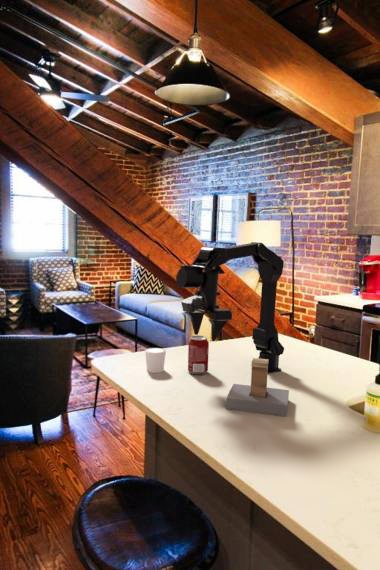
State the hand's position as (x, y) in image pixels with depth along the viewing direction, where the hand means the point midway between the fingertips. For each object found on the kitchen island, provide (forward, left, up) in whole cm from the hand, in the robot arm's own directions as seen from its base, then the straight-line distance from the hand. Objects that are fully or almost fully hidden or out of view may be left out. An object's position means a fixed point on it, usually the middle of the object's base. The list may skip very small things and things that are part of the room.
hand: (204, 337), depth 141 cm
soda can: (-4, -10, -15) cm, 18 cm away
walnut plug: (-4, +22, -14) cm, 27 cm away
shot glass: (+8, -18, -15) cm, 24 cm away
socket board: (-4, +22, -14) cm, 27 cm away
